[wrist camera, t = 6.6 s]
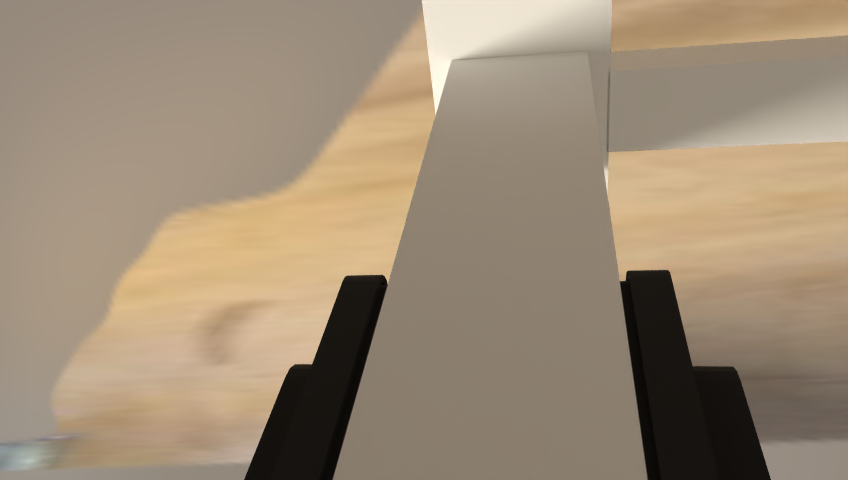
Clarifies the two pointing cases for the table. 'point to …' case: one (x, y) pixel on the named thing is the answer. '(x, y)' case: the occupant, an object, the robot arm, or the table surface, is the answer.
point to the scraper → (547, 234)
